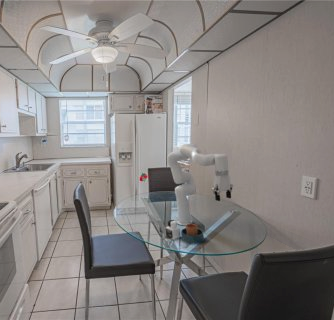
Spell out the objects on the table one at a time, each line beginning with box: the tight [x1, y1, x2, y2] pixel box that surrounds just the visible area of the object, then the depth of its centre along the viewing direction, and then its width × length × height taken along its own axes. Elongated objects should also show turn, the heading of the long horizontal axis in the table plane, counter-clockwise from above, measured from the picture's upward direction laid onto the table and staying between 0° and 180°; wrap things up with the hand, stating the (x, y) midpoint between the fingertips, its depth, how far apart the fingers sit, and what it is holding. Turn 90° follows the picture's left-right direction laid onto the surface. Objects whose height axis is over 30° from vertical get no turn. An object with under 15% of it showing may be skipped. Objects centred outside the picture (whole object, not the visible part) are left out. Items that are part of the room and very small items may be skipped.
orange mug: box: [185, 223, 199, 236], centre depth 147 cm, size 11×7×9 cm
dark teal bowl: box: [180, 227, 205, 244], centre depth 145 cm, size 14×14×6 cm
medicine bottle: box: [165, 219, 181, 241], centre depth 151 cm, size 7×7×12 cm
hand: (223, 199), depth 138 cm, fingers open, 9 cm apart
